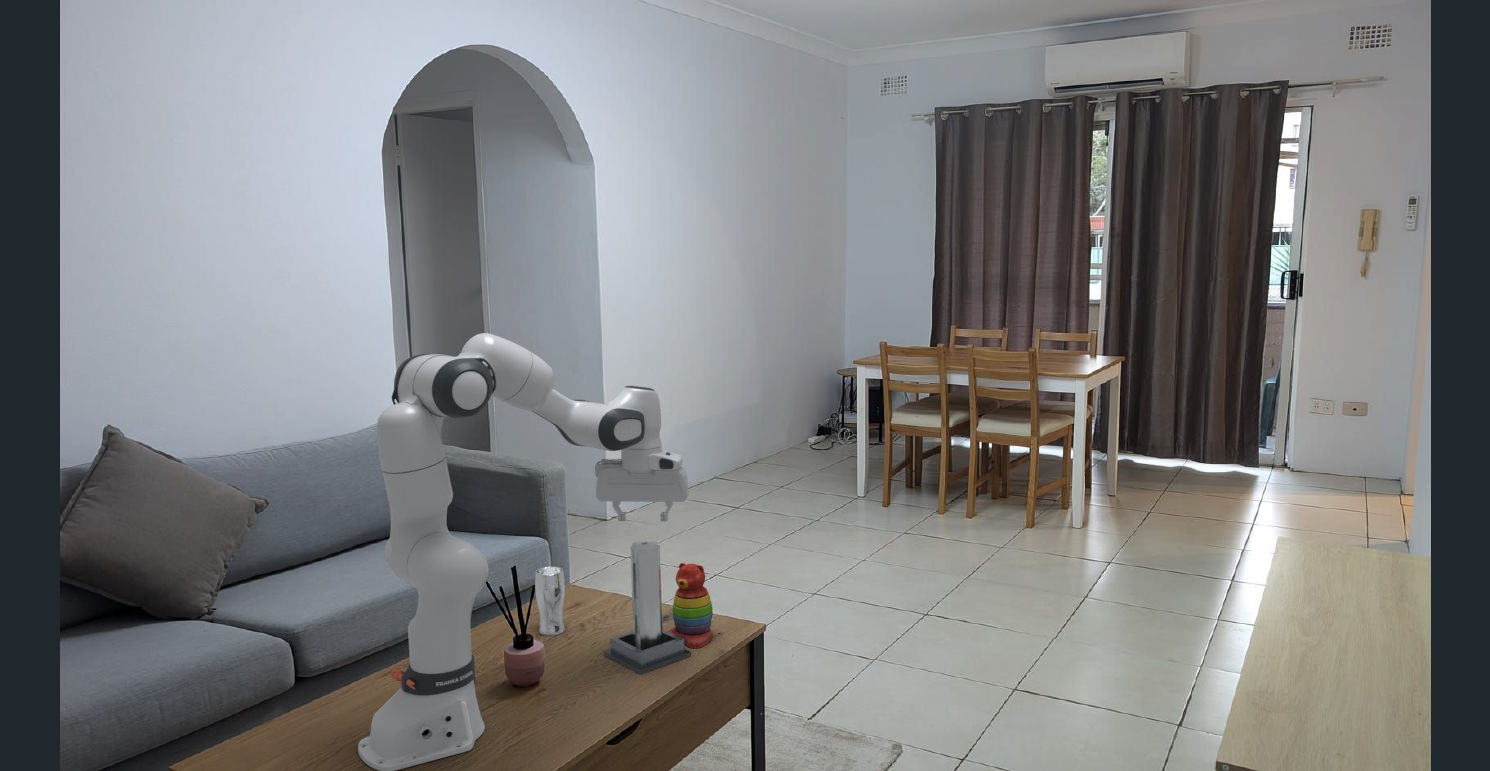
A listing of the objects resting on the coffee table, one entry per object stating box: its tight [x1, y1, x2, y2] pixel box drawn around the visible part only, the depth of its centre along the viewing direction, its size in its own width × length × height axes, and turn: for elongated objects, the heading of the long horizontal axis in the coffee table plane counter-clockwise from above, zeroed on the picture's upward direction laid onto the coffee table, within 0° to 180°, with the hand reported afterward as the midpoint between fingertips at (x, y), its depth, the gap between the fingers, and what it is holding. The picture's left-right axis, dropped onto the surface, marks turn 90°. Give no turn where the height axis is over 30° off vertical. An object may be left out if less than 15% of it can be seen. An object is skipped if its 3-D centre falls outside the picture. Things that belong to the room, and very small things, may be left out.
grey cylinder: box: [630, 539, 663, 651], centre depth 217 cm, size 6×6×25 cm
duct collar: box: [603, 628, 692, 675], centre depth 217 cm, size 14×14×4 cm
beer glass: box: [534, 566, 566, 637], centre depth 232 cm, size 7×7×15 cm
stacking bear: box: [668, 562, 713, 649], centre depth 226 cm, size 11×10×18 cm
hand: (643, 520), depth 214 cm, fingers open, 8 cm apart
